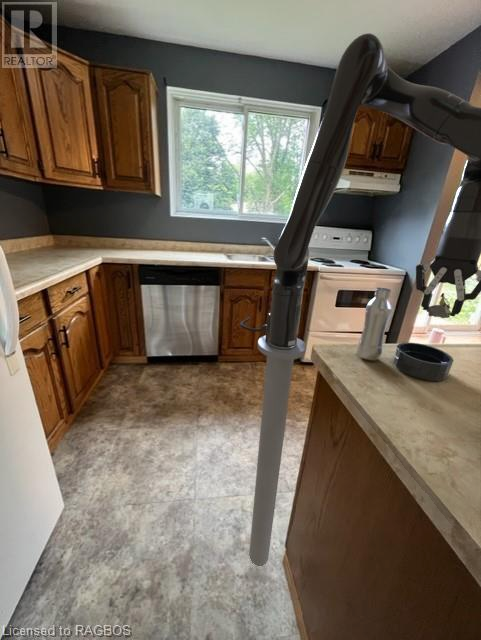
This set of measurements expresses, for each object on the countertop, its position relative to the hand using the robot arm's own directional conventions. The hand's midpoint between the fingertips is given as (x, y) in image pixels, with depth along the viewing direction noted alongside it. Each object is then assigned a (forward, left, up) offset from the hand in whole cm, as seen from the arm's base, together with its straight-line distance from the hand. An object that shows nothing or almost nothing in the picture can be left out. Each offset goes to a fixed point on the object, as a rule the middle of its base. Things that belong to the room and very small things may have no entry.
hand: (438, 312), depth 63 cm
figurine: (0, 0, -2) cm, 2 cm away
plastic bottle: (-13, 0, -17) cm, 22 cm away
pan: (-1, +4, -17) cm, 18 cm away
